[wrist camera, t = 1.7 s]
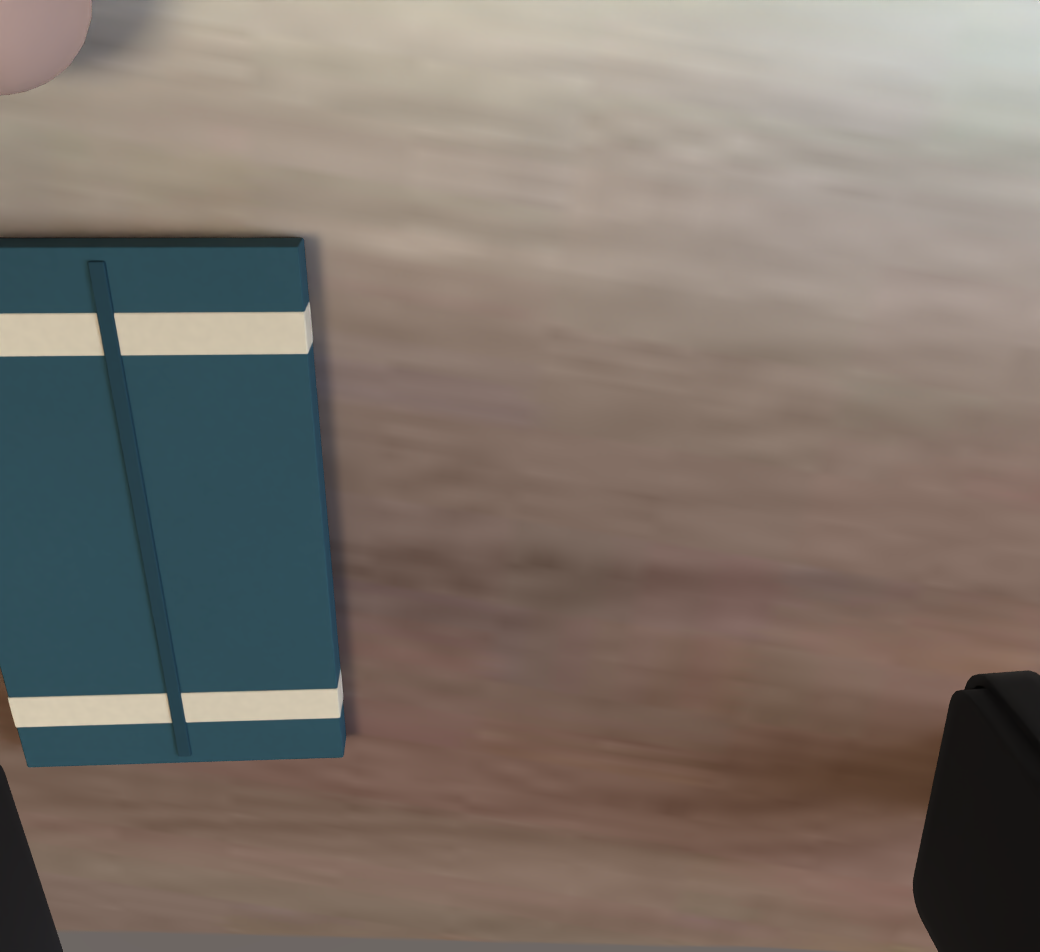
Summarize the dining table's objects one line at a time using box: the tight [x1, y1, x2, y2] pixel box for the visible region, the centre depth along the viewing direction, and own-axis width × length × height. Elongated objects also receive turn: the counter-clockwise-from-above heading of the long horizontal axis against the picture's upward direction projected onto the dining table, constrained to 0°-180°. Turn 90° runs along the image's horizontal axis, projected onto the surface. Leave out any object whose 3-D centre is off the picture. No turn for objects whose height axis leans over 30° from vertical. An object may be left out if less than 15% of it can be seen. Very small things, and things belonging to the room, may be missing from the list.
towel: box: [0, 238, 346, 767], centre depth 35 cm, size 20×12×1 cm, turn 179°
